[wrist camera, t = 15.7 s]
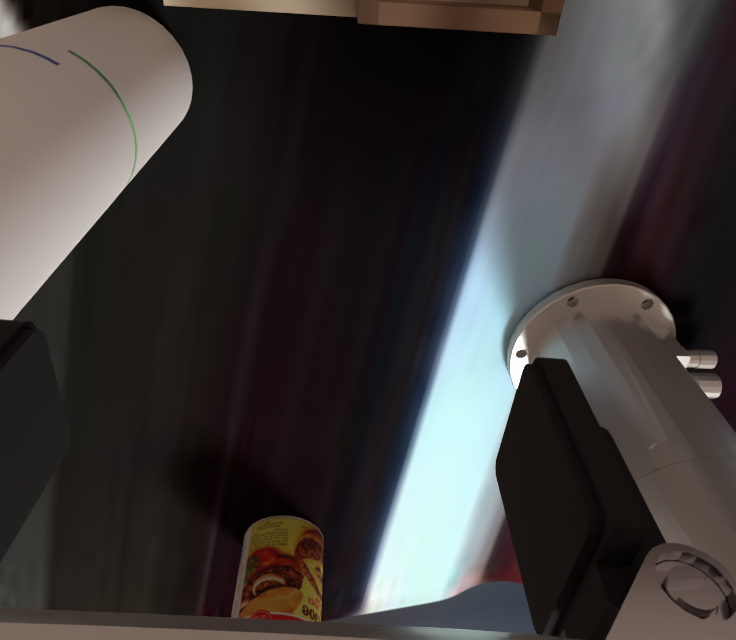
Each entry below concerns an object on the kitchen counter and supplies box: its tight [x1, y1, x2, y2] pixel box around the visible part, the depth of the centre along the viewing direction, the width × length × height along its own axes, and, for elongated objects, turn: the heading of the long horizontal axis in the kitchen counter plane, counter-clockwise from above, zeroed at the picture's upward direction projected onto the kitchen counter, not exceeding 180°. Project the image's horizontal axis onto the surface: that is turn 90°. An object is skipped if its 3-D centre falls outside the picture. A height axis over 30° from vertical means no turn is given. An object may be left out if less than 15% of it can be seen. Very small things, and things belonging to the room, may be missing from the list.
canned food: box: [231, 515, 324, 622], centre depth 52 cm, size 8×8×12 cm
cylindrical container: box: [0, 6, 193, 320], centre depth 22 cm, size 7×7×25 cm
